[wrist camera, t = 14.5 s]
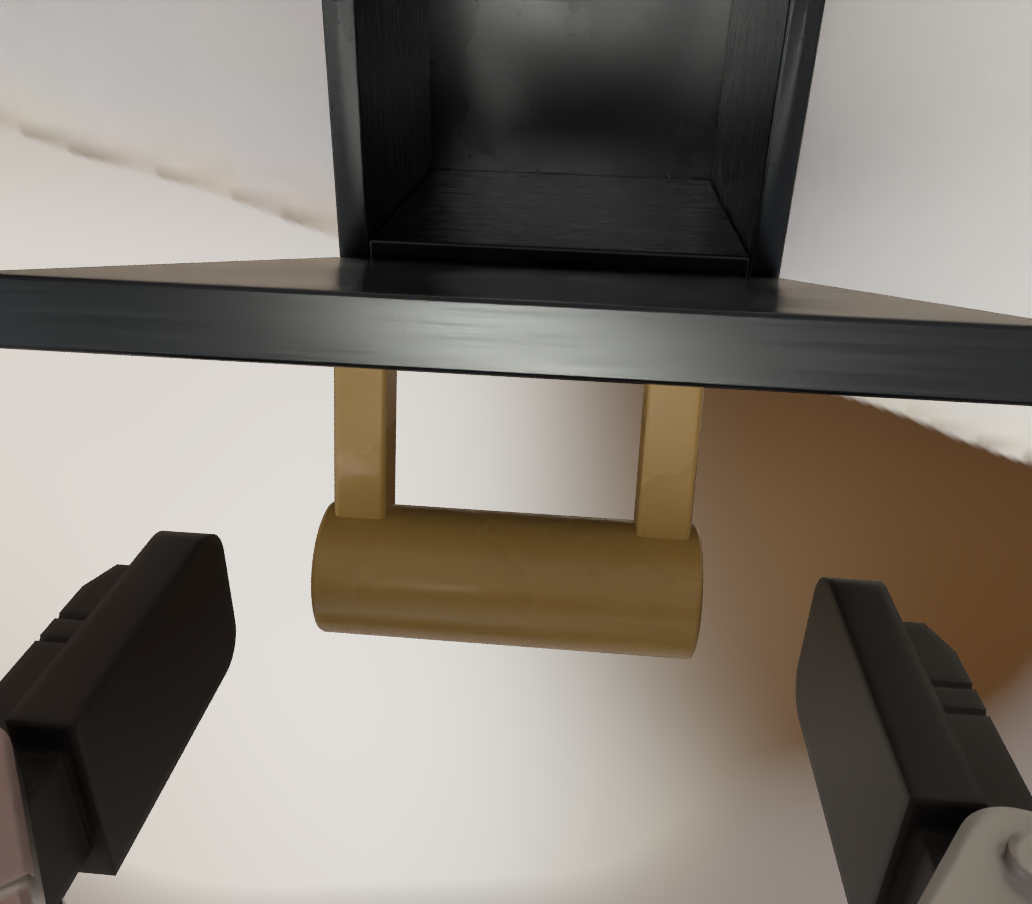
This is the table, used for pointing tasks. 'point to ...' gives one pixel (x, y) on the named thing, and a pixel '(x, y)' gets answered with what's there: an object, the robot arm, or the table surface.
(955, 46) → the table surface
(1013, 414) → the table surface
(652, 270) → the black hollow box
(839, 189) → the table surface
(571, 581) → the drawer with gold handle
